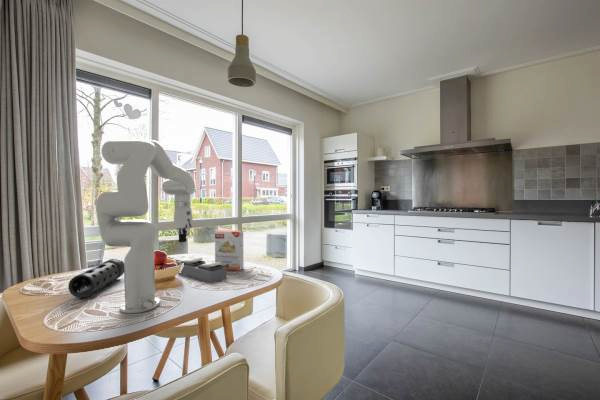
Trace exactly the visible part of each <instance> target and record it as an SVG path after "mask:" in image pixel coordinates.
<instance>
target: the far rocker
mask: <svg viewBox="0 0 600 400" xmlns="http://www.w3.org/2000/svg"><path fill="white" fill-rule="evenodd" d="M200 260H201V261H203V258H202V257H201V258H200V257H198V258H192V259H187V260H184V262H187V263H195V262H198V261H200Z"/></svg>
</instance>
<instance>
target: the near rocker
mask: <svg viewBox="0 0 600 400" xmlns="http://www.w3.org/2000/svg"><path fill="white" fill-rule="evenodd" d="M219 264H220V262H215V261H214V262H211V261H210V262H205V264H201V266H204V267H208V268H209V267H213V266H215V265H219Z"/></svg>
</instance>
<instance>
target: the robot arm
mask: <svg viewBox="0 0 600 400" xmlns="http://www.w3.org/2000/svg"><path fill="white" fill-rule="evenodd" d="M101 156H102V158H103V159H104V160H105V162H107V164H111V165H122V166H121V167H120V168H119V170H118V172H117V175H116V185H117V186H116V187H117V190H106V191H103V192H101V193H100V194H99V195H98V197H97V199H96V202H95V203H96V204H95V210H96V217H97V221H98V228H99V233H100V238H101V241H102V242H103V243H104V244H105V245H106V246H109V247H112V248H113V247H117V248H118V247H129V248H130V249H129V250H128V252H127V253H126V255H125V257H124V260H123V262H124V273H123V275H124V277H123V278H124V280H123V281H124V303H122V304H121V305H120V306H119V311H120V312H121V313H124V314H139V313H143V312H147V311H150V310H153V309H156V308H157V307H158V306H160V303H161V301H160V298H158V297H156V289H155V288H156V285H155V284H156V282H155V281H156V280H155V279H156V278H155V247H156V245H155V244H156V241H157V235H158V232H157V231H158V230H157V226H156V224H155V223H154V222H153V221H150V220H146V219H121V218H139V217H140V218H141V217H144V216H145V215H147V213H148V211H149V199H148V192H147V184H146V183H147V182H146V175H147V172H148V170H149V169H151V171H152V173H153V174H154V175H155V176H157V177H159V178H162V179H165V180H164V181H163V182H162V184H161V188H162V189H161V190H162V191H163V192H164V194H166V195H169V196H174V200H173V201H174V203H173V204H174V205H173V207H174V212H173V227H175V231H177V234H178V243H186V242H187V234H188V231H190V230H191V229H190V228H193V224H194V223H193V212H192V211H193V210H192V207H191V200H192V194H194V193H195V192H196V191H195V190H196V184H195V181H194V179H193V177H192V175H191V174H190V172H189V171H187V170H186V169H184V168H182V167H180V166H179V165H177V164H175V163H173V162H172V160H171V158H170V157H169V154H167V151H166V150H165V148H164V147H163V146H162V144H161V143H160V142H159V141H156V140H153V139H130V140H129V139H126V140H125V139H124V140H123V139H120V140H119V139H117V140H115V139H114V140H113V139H112V140H108V141H106V142H104V143H103V144H102V147H101Z"/></svg>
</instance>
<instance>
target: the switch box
mask: <svg viewBox="0 0 600 400" xmlns="http://www.w3.org/2000/svg"><path fill="white" fill-rule="evenodd" d="M184 261H185V260H184ZM184 261H181V263H184V267H183V269H182V271H181V273H180V274H179V275H181V276H186V277H189V278H193V279H196V280H199V281H202V282H206V283H211V284H212V283H215V282H218V281H221V280H225V279H227V270H226V268H225V267H223V265H215V266H213V267H209V268H208V267H204V266H201V264H205V263H206V261H205V260H200V261H198V262H195V263H187V262H184ZM181 263H180V264H181Z"/></svg>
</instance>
